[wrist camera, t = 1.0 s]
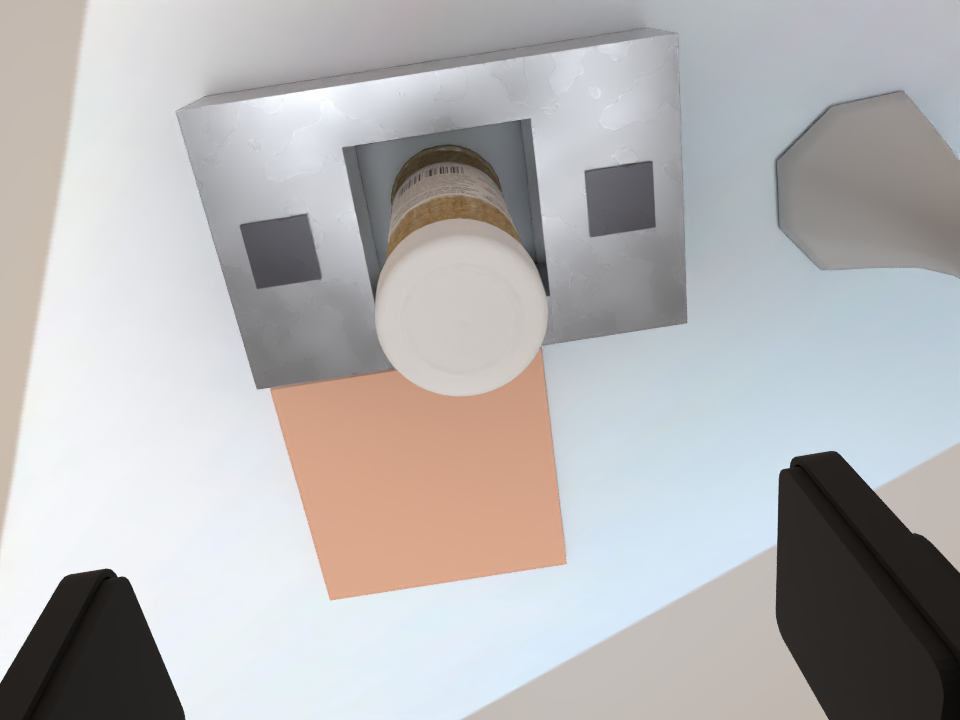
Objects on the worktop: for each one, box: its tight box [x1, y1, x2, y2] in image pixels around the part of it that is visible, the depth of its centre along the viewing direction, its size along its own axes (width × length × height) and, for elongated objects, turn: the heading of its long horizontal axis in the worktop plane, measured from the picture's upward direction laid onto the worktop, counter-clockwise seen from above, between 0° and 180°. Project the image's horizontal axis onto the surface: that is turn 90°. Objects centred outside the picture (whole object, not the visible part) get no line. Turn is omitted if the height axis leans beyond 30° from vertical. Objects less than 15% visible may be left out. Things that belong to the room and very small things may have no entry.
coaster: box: [270, 347, 567, 600], centre depth 38 cm, size 12×12×1 cm
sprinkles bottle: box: [375, 145, 548, 396], centre depth 27 cm, size 5×5×13 cm
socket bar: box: [176, 28, 687, 389], centre depth 31 cm, size 17×11×4 cm, turn 98°
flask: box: [777, 91, 960, 279], centre depth 29 cm, size 7×7×10 cm
